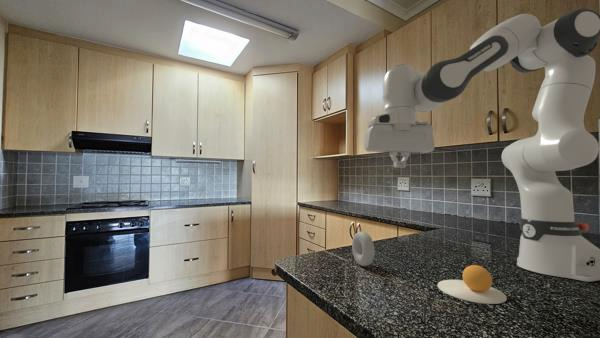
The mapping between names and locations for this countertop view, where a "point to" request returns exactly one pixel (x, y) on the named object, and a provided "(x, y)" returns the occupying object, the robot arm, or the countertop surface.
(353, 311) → the countertop surface
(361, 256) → the donut
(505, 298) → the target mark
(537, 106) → the robot arm
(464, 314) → the countertop surface
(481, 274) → the ball
